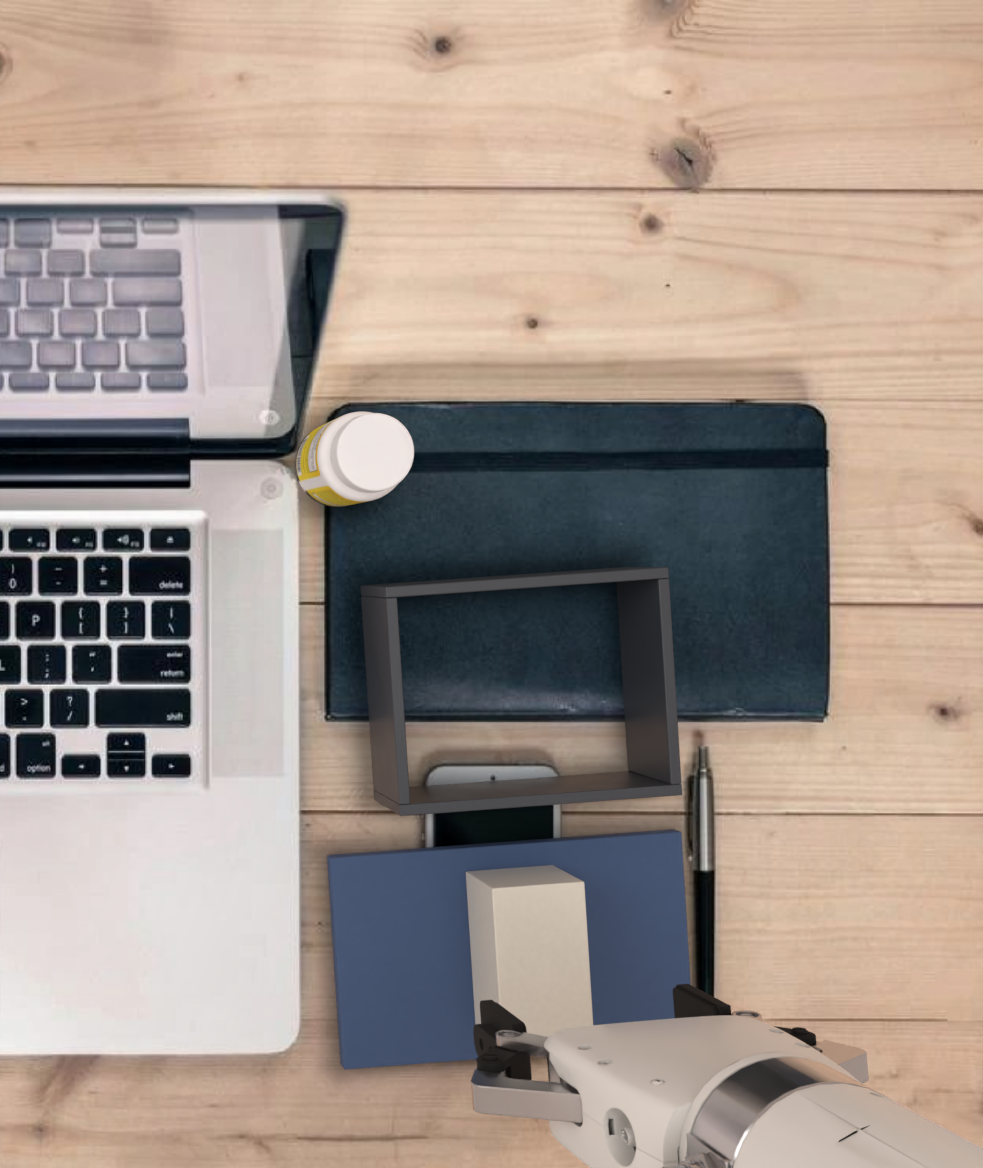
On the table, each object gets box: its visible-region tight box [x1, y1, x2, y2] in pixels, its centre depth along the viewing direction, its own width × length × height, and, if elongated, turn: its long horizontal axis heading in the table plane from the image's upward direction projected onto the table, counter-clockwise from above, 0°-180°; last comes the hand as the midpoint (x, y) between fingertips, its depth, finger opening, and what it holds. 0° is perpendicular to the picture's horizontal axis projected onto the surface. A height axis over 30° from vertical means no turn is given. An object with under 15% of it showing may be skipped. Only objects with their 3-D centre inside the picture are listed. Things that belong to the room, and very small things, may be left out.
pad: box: [326, 828, 692, 1071], centre depth 75 cm, size 12×20×2 cm, turn 94°
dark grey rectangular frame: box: [359, 566, 683, 817], centre depth 73 cm, size 12×15×6 cm
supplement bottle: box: [294, 411, 415, 508], centre depth 71 cm, size 5×5×8 cm
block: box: [466, 865, 593, 1037], centre depth 73 cm, size 9×5×4 cm, turn 4°
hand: (584, 1022), depth 65 cm, fingers open, 9 cm apart
